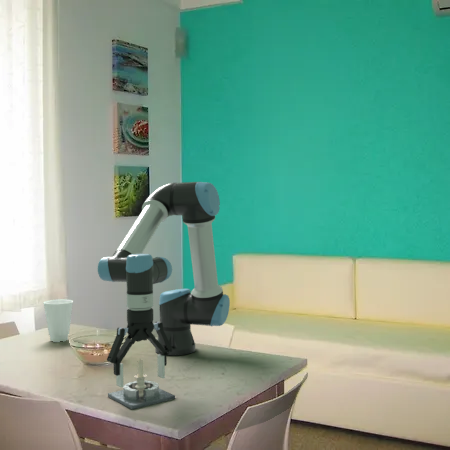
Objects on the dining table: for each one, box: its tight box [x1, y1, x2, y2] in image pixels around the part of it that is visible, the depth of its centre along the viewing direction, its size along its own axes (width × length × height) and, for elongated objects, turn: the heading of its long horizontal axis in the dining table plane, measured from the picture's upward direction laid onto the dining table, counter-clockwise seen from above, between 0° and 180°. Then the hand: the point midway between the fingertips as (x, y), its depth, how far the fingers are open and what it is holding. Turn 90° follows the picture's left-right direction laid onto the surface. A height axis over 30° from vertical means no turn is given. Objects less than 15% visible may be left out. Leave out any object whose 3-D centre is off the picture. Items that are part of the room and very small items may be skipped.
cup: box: [43, 299, 74, 343], centre depth 247 cm, size 12×12×16 cm
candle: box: [133, 359, 148, 397], centre depth 173 cm, size 5×5×10 cm
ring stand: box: [107, 380, 176, 410], centre depth 173 cm, size 14×14×4 cm
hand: (141, 381), depth 173 cm, fingers open, 13 cm apart
